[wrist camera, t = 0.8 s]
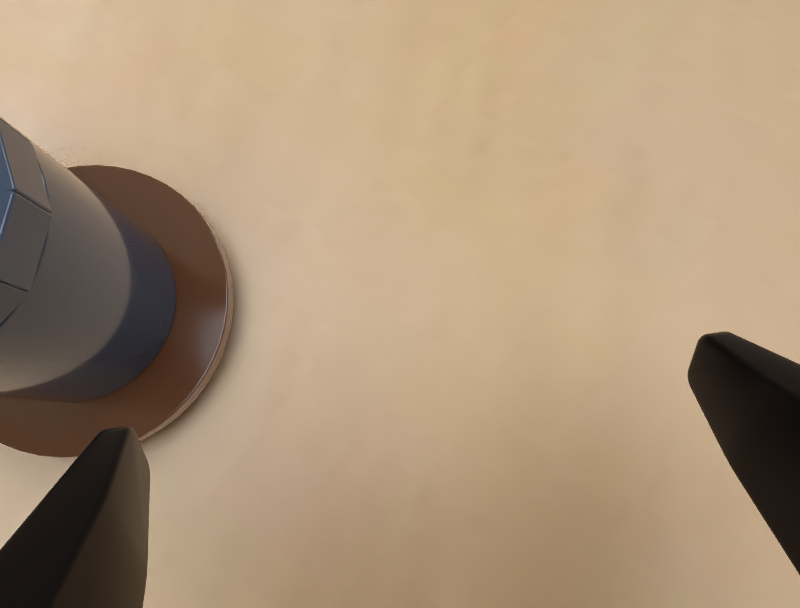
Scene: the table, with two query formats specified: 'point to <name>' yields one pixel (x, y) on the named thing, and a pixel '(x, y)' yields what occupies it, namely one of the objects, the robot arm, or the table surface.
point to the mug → (101, 301)
